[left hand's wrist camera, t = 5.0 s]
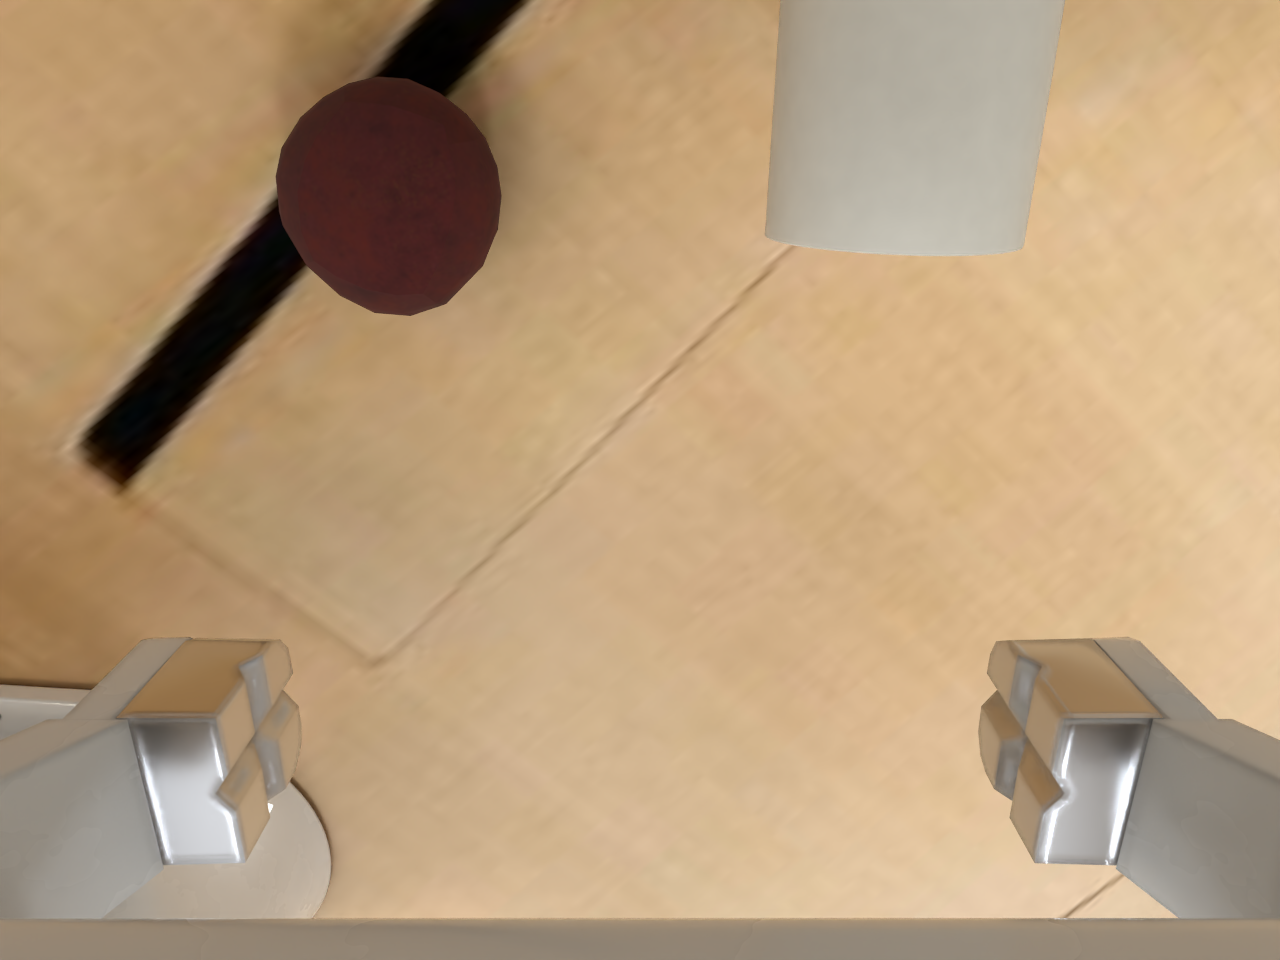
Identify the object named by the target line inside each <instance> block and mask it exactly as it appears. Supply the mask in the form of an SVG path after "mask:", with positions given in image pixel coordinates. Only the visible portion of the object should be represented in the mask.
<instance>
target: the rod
mask: <svg viewBox="0 0 1280 960" xmlns="http://www.w3.org/2000/svg"><path fill="white" fill-rule="evenodd" d="M1064 4H1065V0H780V14H779V29H778V44H777V59H776V74H775V90H774V105H773V120H772V135H771V150H770V165H769V181H768V196H767V211H766V226H765V236H766V237H767V238H769V239H771V240H773V241H777V242H780V243H784V244H789V245H795V246H801V247H807V248H815V249H823V250H833V251H843V252H855V253H869V254H886V255H910V256H975V255H992V254H1002V253H1009V252H1013V251H1017V250H1020V249H1022V247H1023V246H1024V241H1025V235H1026V229H1027V223H1028V217H1029V211H1030V205H1031V199H1032V193H1033V187H1034V182H1035V176H1036V170H1037V164H1038V158H1039V152H1040V146H1041V140H1042V134H1043V128H1044V122H1045V116H1046V110H1047V104H1048V99H1049V93H1050V87H1051V81H1052V75H1053V69H1054V63H1055V57H1056V51H1057V45H1058V39H1059V33H1060V27H1061V21H1062V16H1063V10H1064Z"/></svg>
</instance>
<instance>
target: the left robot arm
mask: <svg viewBox="0 0 1280 960" xmlns="http://www.w3.org/2000/svg"><path fill="white" fill-rule="evenodd" d="M292 674H293V670H292V665H291V660H290V655H289V650H288V647H287V646H286V645H285V644H284V643H283V642H282V641H281V640H274V639H223V638H195V639H193V638H190V637H178V638H150V639H145V640H141V641H140V642H139V643H138V644H137V645H136V646H135V647H134V648H133V649H132V650H131V651H130V652H129V653H128V654H127V655H126V656H125V657H124V658H123V659H122V660H121V661H120V662H119V663H118V664H117V665H116V666H115V667H114V668H113V669H112V670H111V671H110V672H109V673H108V674H107V675H106V676H105V677H104V678H103V679H102V680H101V681H100V682H99V683H98V684H97V685H96V686H95V687H94V688H93V689H92V690H84V689H67V688H51V687H34V686H17V685H1V684H0V960H1280V740H1278V739H1276V738H1273V737H1271V736H1269V735H1267V734H1264V733H1262V732H1260V731H1258V730H1255V729H1253V728H1251V727H1249V726H1246V725H1244V724H1242V723H1240V722H1237V721H1235V720H1233V719H1217V718H1216V717H1215V716H1214V715H1213V714H1212V713H1211V712H1210V711H1209V710H1208V709H1207V708H1206V707H1205V706H1204V705H1203V704H1202V703H1201V702H1200V701H1199V700H1198V699H1197V698H1196V697H1195V696H1194V695H1193V694H1192V693H1191V692H1190V691H1189V690H1188V689H1187V688H1186V687H1185V686H1184V685H1183V684H1182V683H1181V682H1180V681H1179V680H1178V679H1177V678H1176V677H1175V676H1174V675H1173V674H1172V673H1171V672H1170V671H1169V670H1168V669H1167V668H1166V667H1165V666H1164V665H1163V664H1162V663H1161V662H1160V661H1159V660H1158V659H1157V658H1156V657H1155V656H1154V655H1153V654H1152V653H1151V652H1150V651H1149V650H1148V649H1147V648H1146V647H1145V646H1144V645H1143V644H1142V643H1141V642H1140V641H1138V640H1135V639H1132V638H1130V637H1115V638H1088V639H1048V640H1008V641H996V643H995V645H994V647H993V649H992V651H991V654H990V659H989V664H988V670H987V674H988V676H989V677H990V679H991V680H992V682H993V684H994V685H995V687H996V688H997V691H996V692H995V693H994V694H993V695H992V696H991V697H990V698H989V699H988V700H987V701H986V702H985V703H984V704H983V705H982V706H981V714H980V722H979V730H978V733H979V744H980V755H981V759H982V762H983V765H984V769H985V772H986V774H987V776H988V778H989V780H990V782H991V784H992V786H993V788H994V789H995V790H997V791H998V792H1000V793H1001V794H1003V795H1004V796H1006V797H1007V798H1009V799H1010V800H1012V807H1011V813H1010V819H1011V821H1012V823H1013V825H1014V826H1015V828H1016V830H1017V832H1018V834H1019V835H1020V837H1021V839H1022V841H1023V843H1024V844H1025V846H1026V848H1027V850H1028V852H1029V854H1030V855H1031V857H1032V859H1033V861H1034V863H1052V864H1088V865H1117V866H1116V869H1117V870H1118V871H1119V872H1121V873H1122V874H1123V875H1124V876H1126V877H1127V878H1128V879H1130V880H1131V881H1132V882H1133V883H1135V884H1136V885H1137V886H1138V887H1140V888H1141V889H1142V890H1144V891H1145V892H1146V893H1147V894H1149V895H1150V896H1151V897H1152V898H1154V899H1155V900H1156V901H1158V902H1159V903H1160V904H1161V905H1163V906H1164V907H1165V908H1167V909H1168V910H1169V911H1170V912H1172V913H1173V914H1174V915H1175V916H1177V917H1178V918H815V919H640V918H639V919H638V918H637V919H636V918H313V916H314V915H315V914H316V912H317V911H318V909H319V908H320V906H321V904H322V902H323V900H324V898H325V896H326V893H327V890H328V887H329V883H330V877H331V855H330V848H329V844H328V840H327V837H326V834H325V831H324V829H323V826H322V824H321V822H320V820H319V818H318V816H317V815H316V813H315V811H314V810H313V808H312V807H311V805H310V804H309V803H308V801H307V800H306V799H305V798H304V796H303V795H302V794H301V793H300V792H299V791H298V790H297V789H296V788H295V786H294V785H293V784H292V783H290V780H291V778H292V776H293V774H294V772H295V770H296V765H297V761H298V757H299V752H300V748H301V720H300V713H299V706H298V705H297V704H296V703H295V702H294V701H293V700H292V699H291V698H290V697H289V696H288V695H287V694H286V693H285V692H284V691H283V688H284V687H285V685H286V684H287V682H288V680H289V679H290V677H291V676H292Z"/></svg>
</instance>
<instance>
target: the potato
mask: <svg viewBox="0 0 1280 960" xmlns="http://www.w3.org/2000/svg"><path fill="white" fill-rule="evenodd" d="M276 183H277V193H278V203H279V212H280V216H281V220H282V224H283V227H284V228H285V230H286V232H287V233H288V235H289V237H290V238H291V240H292V242H293V243H294V245H295V247H296V248H297V250H298V252H299V253H300V255H301V257H302V258H303V260H304V262H305V263H306V265H307V266H308V267H309V268H310V269H311V270H312V271H313V272H314V273H316V274H317V275H318V276H319V277H320V278H321V279H322V280H323V281H324V282H326V283H327V284H328V285H329V286H330V287H331V288H332V289H333V290H334V291H336V292H337V293H338V294H339V295H340V296H342V297H344V298H346V299H348V300H350V301H352V302H354V303H356V304H358V305H360V306H362V307H364V308H366V309H368V310H370V311H372V312H374V313H383V314H395V315H407V316H411V315H414V314H417V313H420V312H423V311H426V310H429V309H432V308H435V307H438V306H441V305H444V304H446V303H447V302H448V301H449V300H450V299H451V298H452V297H453V296H454V295H455V294H456V293H457V292H458V291H459V290H460V289H461V288H462V287H463V286H464V285H465V284H466V283H467V282H468V281H469V280H470V279H471V278H472V276H473V275H474V274H475V273H476V272H477V271H478V270H479V269H480V268H481V267H482V266H483V264H484V262H485V259H486V257H487V254H488V252H489V249H490V247H491V244H492V242H493V239H494V237H495V234H496V232H497V230H498V223H499V213H500V204H501V190H500V183H499V176H498V169H497V165H496V163H495V160H494V158H493V155H492V153H491V151H490V148H489V146H488V143H487V141H486V138H485V137H484V136H483V135H482V133H481V132H480V131H479V129H478V128H477V127H476V126H475V124H474V123H473V122H472V120H471V119H470V118H469V117H468V115H467V114H466V113H464V112H463V111H462V110H461V109H459V108H458V107H457V106H456V105H454V104H453V103H452V102H451V101H449V100H448V99H447V98H446V97H444V96H443V95H442V94H440V93H439V92H436V91H434V90H432V89H430V88H427V87H425V86H423V85H421V84H418V83H416V82H414V81H412V80H409V79H402V78H388V77H374V78H369V79H365V80H361V81H357V82H353V83H349V84H347V85H345V86H343V87H341V88H339V89H338V90H336V91H334V92H332V93H330V94H329V95H327V96H325V97H323V98H322V99H321V100H320V101H319V102H318V103H316V104H315V105H314V106H313V107H312V108H311V109H310V110H309V111H307V112H306V113H305V114H304V115H303V116H302V117H301V118H300V119H299V121H298V123H297V124H296V126H295V127H294V129H293V131H292V132H291V134H290V135H289V137H288V139H287V140H286V142H285V143H284V145H283V147H282V149H281V154H280V159H279V164H278V168H277V173H276Z"/></svg>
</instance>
